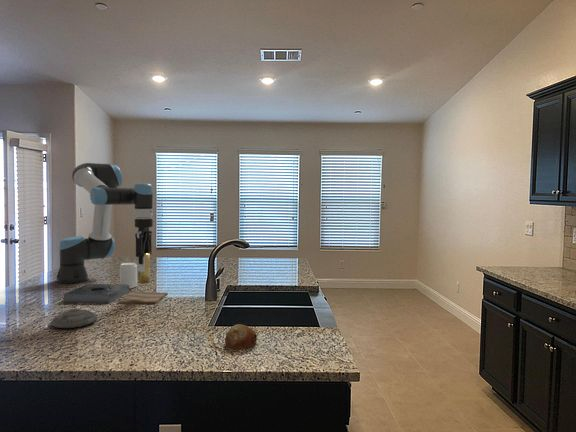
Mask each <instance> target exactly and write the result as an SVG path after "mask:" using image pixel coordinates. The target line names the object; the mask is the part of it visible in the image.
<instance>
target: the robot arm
mask: <svg viewBox="0 0 576 432" xmlns="http://www.w3.org/2000/svg"><path fill="white" fill-rule="evenodd" d="M71 177H72V178H71V179H72V181H73V182H74V183H75V185H77V186H79V187H80V188H83V189H84V190H85V191H87V192H88V193H89V197H90V203H91V204H93V205H94V211H93V220H92V229H91V232H90V233H89V234H88V238H85V237H84V236H82V235H79V236H71V237H65V238H63V239H61V240H60V241H59V247H58V249H59V269H58V272H57V275H56V277H55V280H56V281H55V282H56V283H57V284H58V283H59V284H76V283H81V282H86V281H87V280H89V274H88V271H87V268H86V266H85V261H88V260H98V259H101V260H102V259H107V258H110V257H111V256H113V254H114V252H115V248H116V247H115V246H116V245H115V244H116V243H115V242H116V241H115V238H114V237H113V236H112V234H111V233H110V228H111V220H112V218H111V217H112V210H113V206H114V205H115V206H116V205H119V206H120V205H121V206H123V205H124V206H125V205H126V206H127V205H129V206H132V205H133V206H134V227H135V228H138V230H137V233H135V234H134V238H135V257H136V258H137V272H138V271H142V272H144V271H145V257H144V253H150V255H152V253H153V252H152V251H153V250H152V248H153V247H152V235H153V232H152V230H150V228H152V227H153V226H154V224H153V222H154V221H153V220H154V219H153V214H154V210H153V195H154V194H153V193H154V192H153V185H152V184H151V183H135V184H134V187H121V186H122V184H123V174H122V170H121V169H120V167H119V166H118V165H116V164H111V163H94V162H93V163H92V162H85V163H81V164H79V165H77V166H76V167H75V168H74V169H73V171H72V173H71Z"/></svg>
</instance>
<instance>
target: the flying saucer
mask: <svg viewBox="0 0 576 432" xmlns="http://www.w3.org/2000/svg"><path fill="white" fill-rule="evenodd" d="M97 319H98V316H97V315H96V314H95V313H94V312H92V311H90V310H86V309H81V308H74V309H73V308H72V309H68V310H66V311H63V312H61V313H59V314H58V315H56V316H55V317H54V318H53V319H52V320H51V322H50V325H51V326H52V327H54V328H58V329H59V328H60V329H72V328H73V329H74V328H80V327H84V326H87V325H90V324H92V323H94V322H96V321H97Z"/></svg>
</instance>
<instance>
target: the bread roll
mask: <svg viewBox="0 0 576 432" xmlns="http://www.w3.org/2000/svg"><path fill="white" fill-rule="evenodd" d="M257 340H258V335H257V333H256V330H254V329H253V328H252V327H250V326H248V325H244V324H241V323H239V324H235V325H232V327H230V328H229V329H228V331H227V332H226V335H225V338H224V344H225V345H226V347H227V348H229V349H231V350H245V349H249V348H251V347H254V346H255V345H256V343H257Z"/></svg>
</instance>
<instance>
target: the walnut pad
mask: <svg viewBox="0 0 576 432" xmlns="http://www.w3.org/2000/svg"><path fill="white" fill-rule="evenodd" d="M168 294H169V293H168V292H156V291H155V292H154V291H152V292H150V291H145V292H144V291H133V292H131V293H130V294H128V295H126V296H125V297H122V298H121V299H119V300H118V304H126V305H127V304H133V305H134V304H136V305H137V304H139V305H156V304H158V303H159V302H160V301H162V300H163V299H164V298H165V297H167V296H168Z"/></svg>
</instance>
